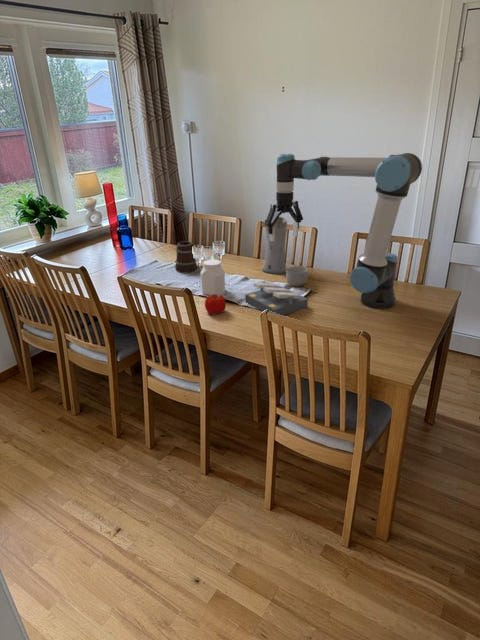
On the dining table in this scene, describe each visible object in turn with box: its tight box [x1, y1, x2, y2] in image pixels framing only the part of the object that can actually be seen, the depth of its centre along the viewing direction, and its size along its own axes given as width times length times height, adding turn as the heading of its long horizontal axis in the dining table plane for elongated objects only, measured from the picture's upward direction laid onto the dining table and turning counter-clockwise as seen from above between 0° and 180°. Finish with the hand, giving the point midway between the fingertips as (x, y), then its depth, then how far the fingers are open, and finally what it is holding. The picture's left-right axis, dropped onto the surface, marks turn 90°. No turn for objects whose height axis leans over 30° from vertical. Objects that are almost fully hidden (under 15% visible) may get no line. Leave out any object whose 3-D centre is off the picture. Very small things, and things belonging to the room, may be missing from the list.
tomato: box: [204, 294, 227, 315], centre depth 192 cm, size 9×9×8 cm
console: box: [244, 281, 309, 316], centre depth 197 cm, size 21×19×8 cm
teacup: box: [285, 264, 309, 287], centre depth 221 cm, size 14×11×8 cm
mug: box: [174, 240, 198, 273], centre depth 243 cm, size 16×12×15 cm
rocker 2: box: [263, 287, 290, 293], centre depth 196 cm, size 4×12×2 cm, turn 125°
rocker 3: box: [273, 292, 301, 298], centre depth 191 cm, size 4×12×2 cm, turn 125°
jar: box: [200, 259, 226, 296], centre depth 211 cm, size 12×10×15 cm
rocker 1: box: [253, 282, 280, 289], centre depth 201 cm, size 4×12×2 cm, turn 125°
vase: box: [262, 216, 288, 275], centre depth 234 cm, size 13×14×28 cm
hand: (283, 238), depth 204 cm, fingers open, 13 cm apart
